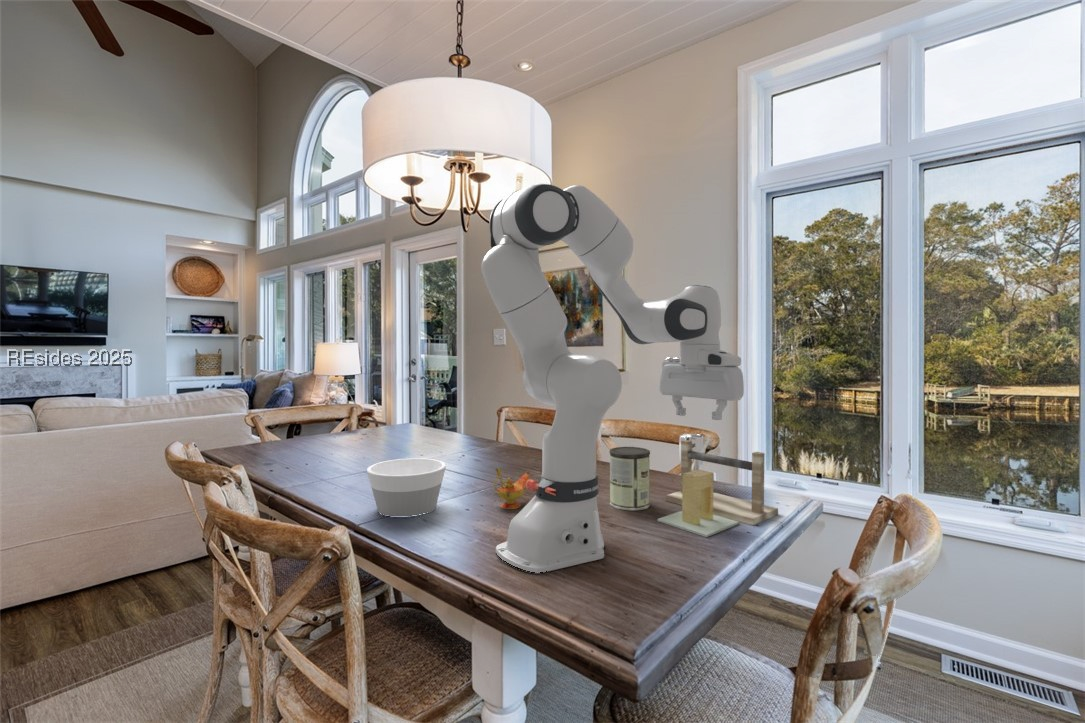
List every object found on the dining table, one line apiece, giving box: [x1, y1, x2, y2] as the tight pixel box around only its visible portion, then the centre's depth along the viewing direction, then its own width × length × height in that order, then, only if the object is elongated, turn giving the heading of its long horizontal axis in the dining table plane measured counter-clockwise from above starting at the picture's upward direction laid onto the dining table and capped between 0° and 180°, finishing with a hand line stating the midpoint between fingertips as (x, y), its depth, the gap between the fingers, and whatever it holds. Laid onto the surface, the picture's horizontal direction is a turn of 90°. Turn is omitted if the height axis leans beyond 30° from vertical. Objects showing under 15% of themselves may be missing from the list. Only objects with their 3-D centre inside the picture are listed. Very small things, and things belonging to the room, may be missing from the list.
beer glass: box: [678, 433, 705, 487], centre depth 146 cm, size 7×7×15 cm
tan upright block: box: [681, 469, 715, 526], centre depth 116 cm, size 6×4×11 cm, turn 129°
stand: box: [665, 440, 779, 526], centre depth 127 cm, size 12×24×16 cm, turn 39°
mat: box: [656, 510, 740, 538], centre depth 116 cm, size 13×13×1 cm
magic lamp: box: [494, 468, 533, 510], centre depth 130 cm, size 7×18×11 cm, turn 152°
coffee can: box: [608, 446, 651, 511], centre depth 129 cm, size 10×10×14 cm
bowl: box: [366, 457, 447, 516], centre depth 126 cm, size 19×19×11 cm
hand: (698, 417), depth 115 cm, fingers open, 8 cm apart
